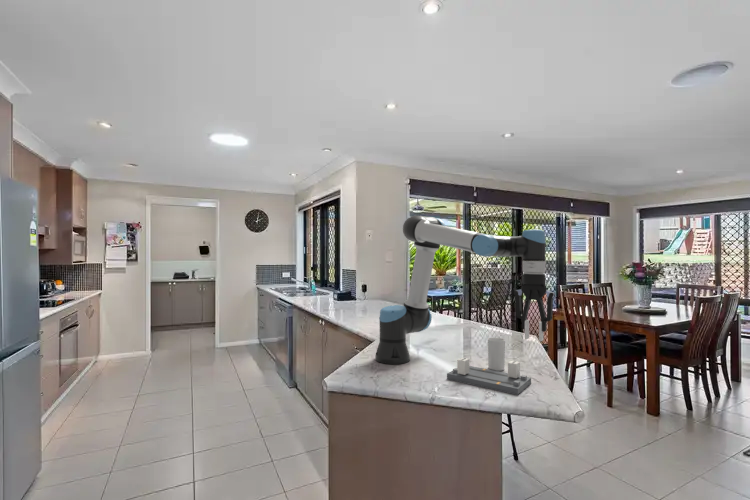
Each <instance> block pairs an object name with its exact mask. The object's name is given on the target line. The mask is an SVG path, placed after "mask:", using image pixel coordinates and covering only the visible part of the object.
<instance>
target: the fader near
mask: <svg viewBox="0 0 750 500" xmlns="http://www.w3.org/2000/svg"><path fill="white" fill-rule="evenodd" d="M456 363H457V364H456V366H457V373H458V374H463V375H466V374H467V373H469V369H470V366H471V365H470V363H471V362H470V358H467V357H460V358H457V362H456Z"/></svg>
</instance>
